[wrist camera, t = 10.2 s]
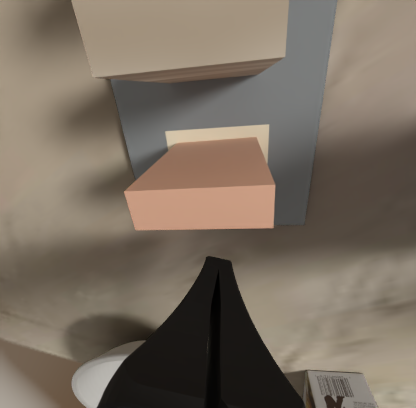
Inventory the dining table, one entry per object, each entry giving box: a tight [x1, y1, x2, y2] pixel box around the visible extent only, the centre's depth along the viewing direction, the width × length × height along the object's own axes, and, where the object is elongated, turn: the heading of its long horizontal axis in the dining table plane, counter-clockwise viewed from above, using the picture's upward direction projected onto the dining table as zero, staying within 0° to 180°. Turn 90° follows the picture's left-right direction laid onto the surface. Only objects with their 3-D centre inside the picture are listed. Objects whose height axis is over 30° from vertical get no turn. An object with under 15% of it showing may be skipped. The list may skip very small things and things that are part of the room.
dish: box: [72, 340, 146, 408], centre depth 25 cm, size 18×14×5 cm
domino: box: [71, 0, 289, 83], centre depth 8 cm, size 2×5×8 cm, turn 95°
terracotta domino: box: [124, 137, 275, 230], centre depth 11 cm, size 2×5×8 cm, turn 96°
